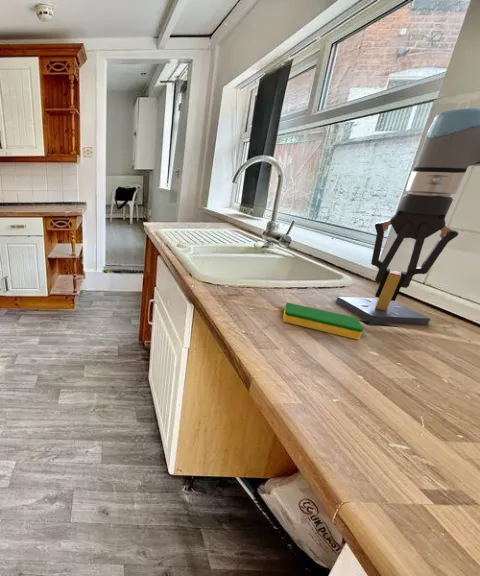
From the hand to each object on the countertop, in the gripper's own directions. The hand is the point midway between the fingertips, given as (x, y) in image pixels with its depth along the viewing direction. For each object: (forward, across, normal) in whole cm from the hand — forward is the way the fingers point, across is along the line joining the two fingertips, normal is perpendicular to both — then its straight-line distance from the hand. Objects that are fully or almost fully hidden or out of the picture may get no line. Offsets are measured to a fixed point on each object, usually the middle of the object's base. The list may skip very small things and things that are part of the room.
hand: (384, 297), depth 73 cm
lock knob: (+2, 0, 0) cm, 2 cm away
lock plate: (+5, 0, 0) cm, 5 cm away
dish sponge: (+5, -10, -17) cm, 20 cm away
